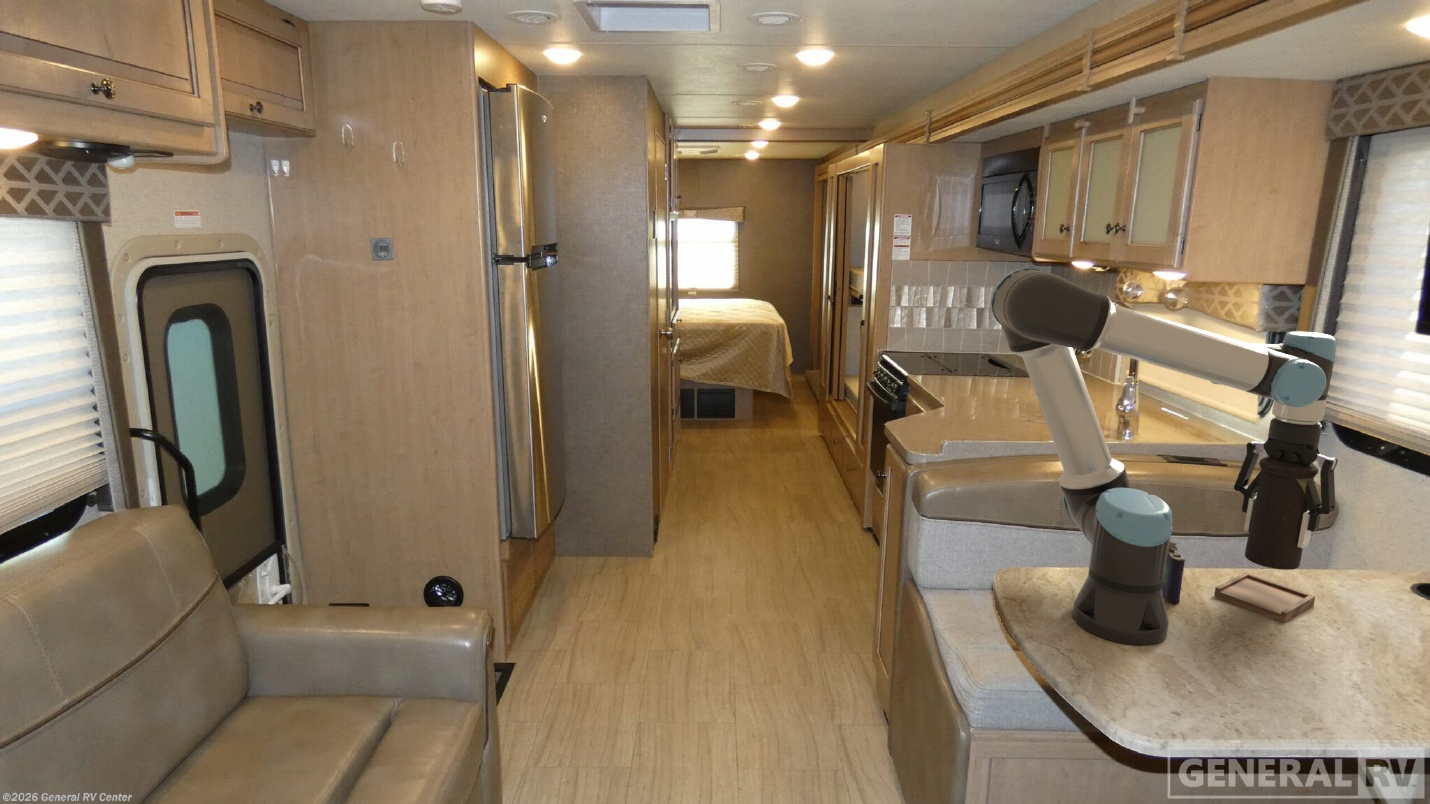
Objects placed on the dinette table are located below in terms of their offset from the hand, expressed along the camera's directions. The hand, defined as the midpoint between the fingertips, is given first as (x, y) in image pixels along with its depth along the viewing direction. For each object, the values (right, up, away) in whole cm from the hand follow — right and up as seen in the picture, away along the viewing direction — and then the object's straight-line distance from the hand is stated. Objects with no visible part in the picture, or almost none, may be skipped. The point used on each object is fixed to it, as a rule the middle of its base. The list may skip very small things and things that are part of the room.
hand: (1275, 537), depth 149 cm
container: (0, -5, +1) cm, 5 cm away
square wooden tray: (0, -12, +3) cm, 13 cm away
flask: (-17, -12, +6) cm, 22 cm away
